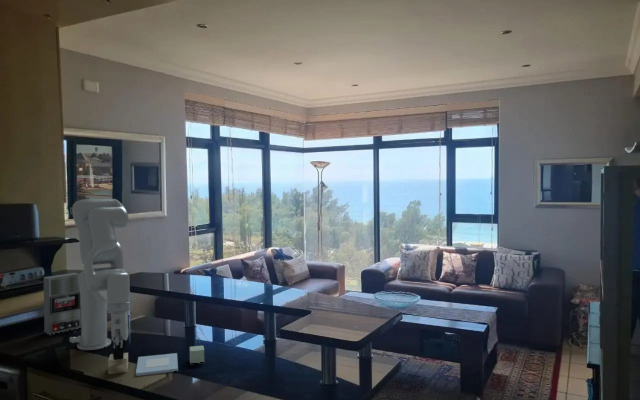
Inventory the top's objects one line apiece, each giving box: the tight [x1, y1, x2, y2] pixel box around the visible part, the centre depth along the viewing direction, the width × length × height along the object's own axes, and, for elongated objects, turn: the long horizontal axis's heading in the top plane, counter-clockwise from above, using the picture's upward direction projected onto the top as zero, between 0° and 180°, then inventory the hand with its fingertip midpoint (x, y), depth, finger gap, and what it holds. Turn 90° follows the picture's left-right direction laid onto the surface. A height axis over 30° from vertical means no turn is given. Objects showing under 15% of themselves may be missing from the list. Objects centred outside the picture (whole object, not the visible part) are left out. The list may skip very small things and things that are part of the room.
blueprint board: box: [135, 352, 179, 377], centre depth 175 cm, size 14×16×1 cm
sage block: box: [189, 345, 205, 365], centre depth 179 cm, size 5×5×5 cm
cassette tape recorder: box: [43, 272, 81, 336], centre depth 214 cm, size 14×6×25 cm, turn 141°
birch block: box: [107, 352, 129, 375], centre depth 170 cm, size 6×6×5 cm
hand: (119, 354), depth 170 cm, fingers open, 9 cm apart
